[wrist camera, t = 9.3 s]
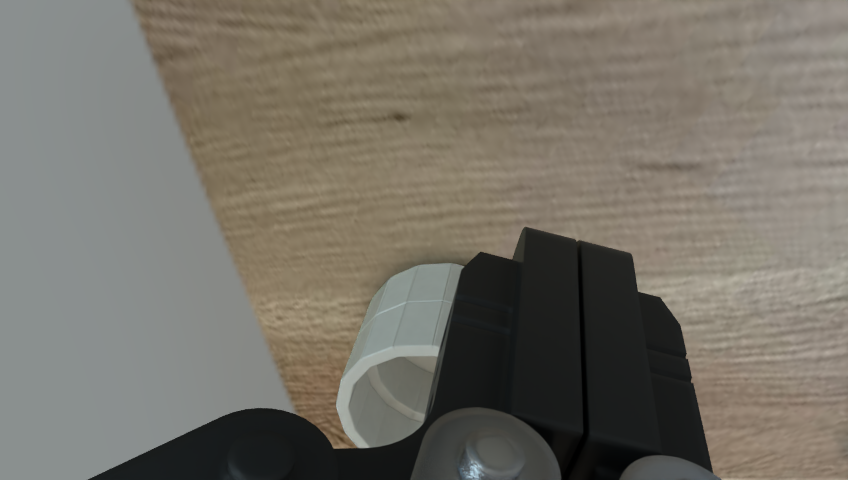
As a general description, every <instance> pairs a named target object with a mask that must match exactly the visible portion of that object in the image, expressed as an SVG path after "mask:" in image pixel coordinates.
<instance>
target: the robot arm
mask: <svg viewBox="0 0 848 480" xmlns="http://www.w3.org/2000/svg"><path fill="white" fill-rule="evenodd" d="M686 354H687V353H686V348H685V344H684V339H683V335H682V330H681V326H680V324H679V323H678V321H677V320H676V319H675V317H674V316H673V314H672V313H671V312H670V310H669V309H668V308H667V306H666V305H665V303H664V302H663V301H662V299H661V298H660V297H657V296H653V295H649V294H645V293H641V292H638V289H637V283H636V276H635V269H634V263H633V257H632V255H631V254H630V253H628V252H624V251H620V250H616V249H612V248H608V247H604V246H600V245H596V244H592V243H588V242H584V241H580V240H579V241H577V242H576V240H575V239H572V238H568V237H564V236H560V235H556V234H552V233H548V232H544V231H540V230H536V229H532V228H528V227H524V228H523V230H522V233H521V235H520V238H519V241H518V244H517V247H516V250H515V253H514V256H513V259H512V260H511V259H507V258H503V257H499V256H495V255H491V254H487V253H483V252H480V253H479V254H478V255H477V256H476V257H474V258H473V259H472V260H471V261H470V262H469V263H468V264H467V265H466V266H465V267H464V268H463V269H461V273H460V277H459V280H458V284H457V287H456V291H455V294H454V298H453V302H452V305H451V309H450V312H449V316H448V320H447V323H446V327H445V330H444V334H443V338H442V341H441V345H440V348H439V352H438V357H437V362H436V366H435V371H434V376H433V381H432V385H431V389H430V394H429V399H428V404H427V408H426V412H425V417H424V422H423V424H422V426H421V427H420V428H419V429H417V430H416V431H415V432H414V433H412V434H411V435H409V436H408V437H406V438H404V439H402V440H400V441H397V442H395V443H392V444H389V445H384V446H380V447H371V448H348V449H333V447H332V445H331V443H330V441H329V440H328V439H327V437H326V436H325V435H324V433H322V432H321V431H320V430H319V429H318V428H317V427H316V426H315V425H313V424H312V423H311V422H309V421H308V420H306V419H304V418H302V417H300V416H298V415H296V414H293V413H289V412H286V411H282V410H277V409H268V408H255V409H245V410H241V411H237V412H233V413H230V414H228V415H225V416H222V417H220V418H218V419H216V420H214V421H211V422H209V423H207V424H205V425H203V426H201V427H199V428H197V429H194V430H192V431H190V432H188V433H186V434H184V435H182V436H180V437H177V438H175V439H173V440H171V441H169V442H167V443H165V444H163V445H160V446H158V447H156V448H154V449H152V450H150V451H148V452H146V453H144V454H142V455H139V456H137V457H135V458H133V459H131V460H129V461H127V462H124V463H122V464H120V465H118V466H116V467H114V468H112V469H109V470H107V471H105V472H103V473H101V474H99V475H97V476H95V477H92V478H90V479H88V480H721V479H720V478H719V477H717V476H716V475H714V474H713V470H712V466H711V461H710V457H709V452H708V448H707V443H706V439H705V434H704V430H703V425H702V421H701V416H700V412H699V407H698V403H697V398H696V394H695V389H694V385H693V383H691V378H692V376H691V371H690V367H689V362H688V359H686Z"/></svg>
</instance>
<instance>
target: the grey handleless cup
mask: <svg viewBox="0 0 848 480" xmlns="http://www.w3.org/2000/svg"><path fill="white" fill-rule="evenodd" d="M464 267H465V266H462V265H459V264H455V263H453V264H452V263H439V264H420V265H417V266H415V267H412V268H410V269H408V270H405V271H403V272H401V273H399V274H396V275H394V276H392V277H391V278H390V279H388V280H387V281H386V283H385V284H384V285H383V286H382V287H381V288H380V289H379V291H378V292H377V293H376V294H375V295H374V296H373V298H372V299H371V302H370V305H369V307H368V310H367V312H366V315H365V318H364V320H363V323H362V326H361V328H360V331H359V334H358V337H357V339H356V341H355V344H354V347H353V349H352V352H351V354H350V357H349V360H348V362H347V365H346V368H345V370H344V373H343V376H342V378H341V381H340V386H339V391H338V396H337V401H336V408H337V411H338V414H339V417H340V420H341V423H342V426H343V429H344V432H345V433H346V435H347V436H348V437H349V438H350V439H351V440H352V441H353V443H354V444H355V445H356V446H357V447H358V448H371V447H380V446H384V445H389V444H392V443H395V442H397V441H400V440H402V439H404V438H406V437H408V436H409V435H411V434H412V433H414V432H415V431H416V430H417V429H419V428H420V427H421V426H422V424H423V422H424V417H425V412H426V408H427V404H428V399H429V394H430V389H431V385H432V381H433V376H434V371H435V366H436V362H437V357H438V352H439V348H440V345H441V341H442V338H443V334H444V330H445V327H446V323H447V320H448V316H449V312H450V309H451V305H452V302H453V298H454V294H455V291H456V287H457V284H458V280H459V277H460V273H461V269H463V268H464Z"/></svg>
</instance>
